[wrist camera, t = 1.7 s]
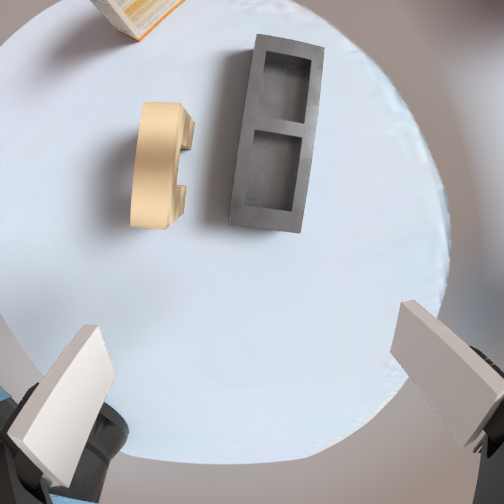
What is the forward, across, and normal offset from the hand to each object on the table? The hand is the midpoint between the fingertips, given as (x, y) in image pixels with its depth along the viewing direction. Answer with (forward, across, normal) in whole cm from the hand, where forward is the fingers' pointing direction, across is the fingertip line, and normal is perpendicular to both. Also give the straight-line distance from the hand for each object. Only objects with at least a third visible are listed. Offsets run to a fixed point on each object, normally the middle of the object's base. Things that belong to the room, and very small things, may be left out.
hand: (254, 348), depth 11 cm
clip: (+21, -6, +8) cm, 23 cm away
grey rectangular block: (+21, +4, +11) cm, 24 cm away
